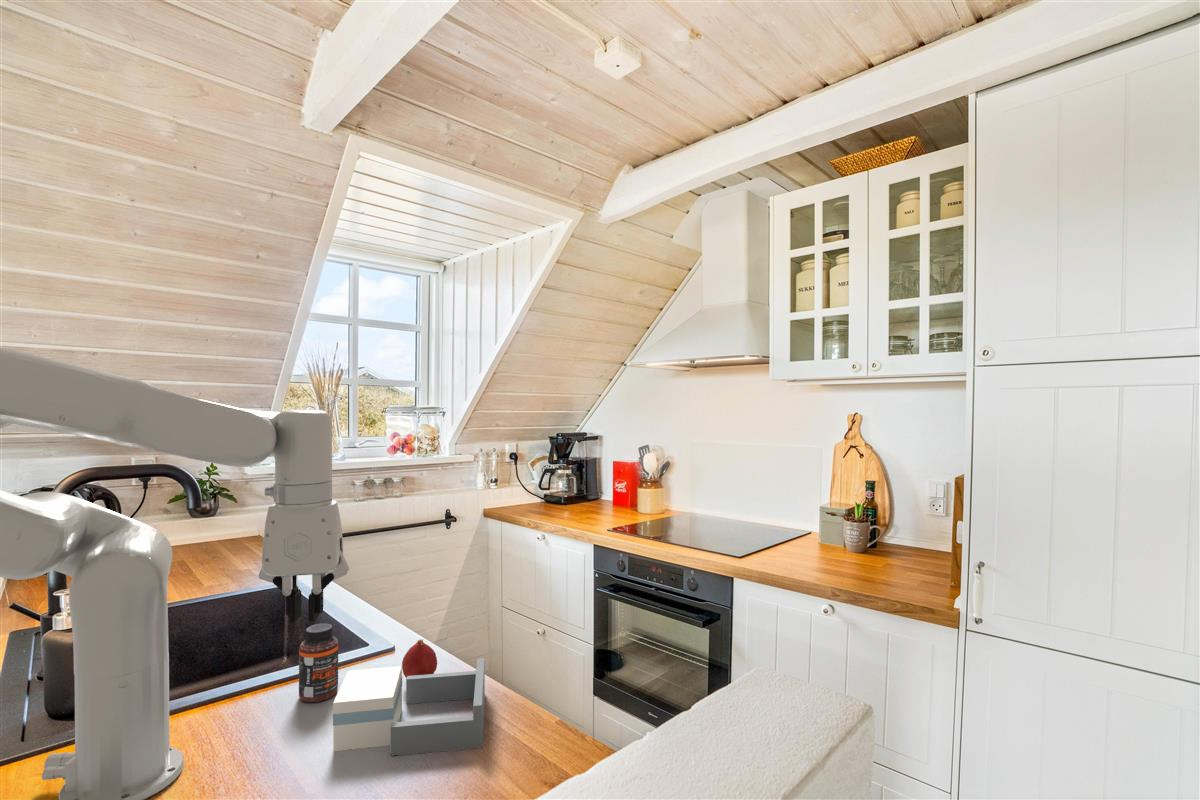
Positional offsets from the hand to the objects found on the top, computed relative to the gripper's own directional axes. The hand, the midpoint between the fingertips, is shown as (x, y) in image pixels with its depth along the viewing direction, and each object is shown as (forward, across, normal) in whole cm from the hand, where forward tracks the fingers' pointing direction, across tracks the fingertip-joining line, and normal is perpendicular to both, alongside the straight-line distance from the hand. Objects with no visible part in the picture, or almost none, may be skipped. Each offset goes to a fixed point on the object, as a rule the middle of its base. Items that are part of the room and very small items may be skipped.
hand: (305, 618), depth 88 cm
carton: (+17, +9, 0) cm, 20 cm away
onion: (+17, +15, +13) cm, 26 cm away
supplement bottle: (+17, -2, +12) cm, 21 cm away
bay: (+17, +20, 0) cm, 26 cm away
